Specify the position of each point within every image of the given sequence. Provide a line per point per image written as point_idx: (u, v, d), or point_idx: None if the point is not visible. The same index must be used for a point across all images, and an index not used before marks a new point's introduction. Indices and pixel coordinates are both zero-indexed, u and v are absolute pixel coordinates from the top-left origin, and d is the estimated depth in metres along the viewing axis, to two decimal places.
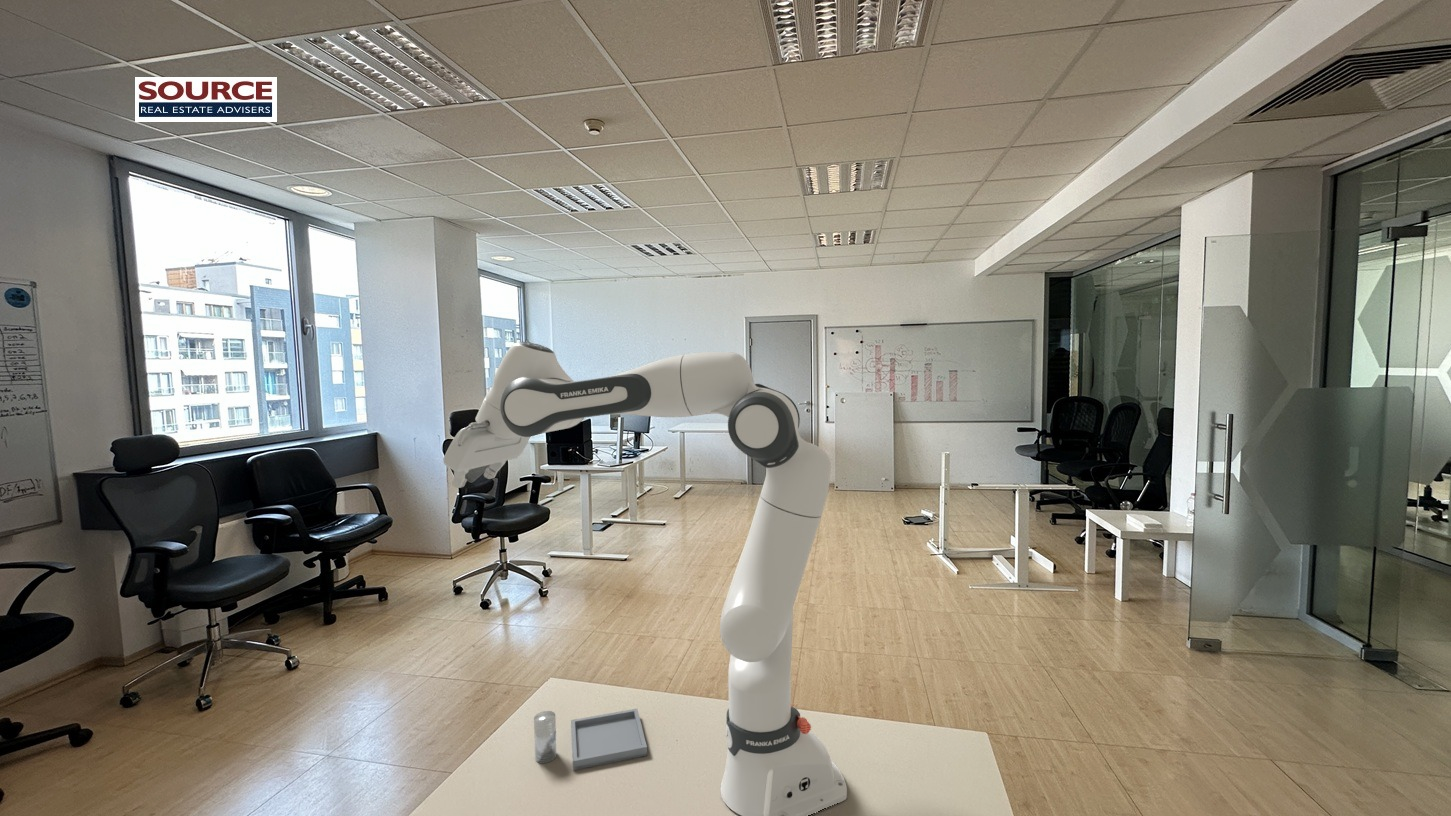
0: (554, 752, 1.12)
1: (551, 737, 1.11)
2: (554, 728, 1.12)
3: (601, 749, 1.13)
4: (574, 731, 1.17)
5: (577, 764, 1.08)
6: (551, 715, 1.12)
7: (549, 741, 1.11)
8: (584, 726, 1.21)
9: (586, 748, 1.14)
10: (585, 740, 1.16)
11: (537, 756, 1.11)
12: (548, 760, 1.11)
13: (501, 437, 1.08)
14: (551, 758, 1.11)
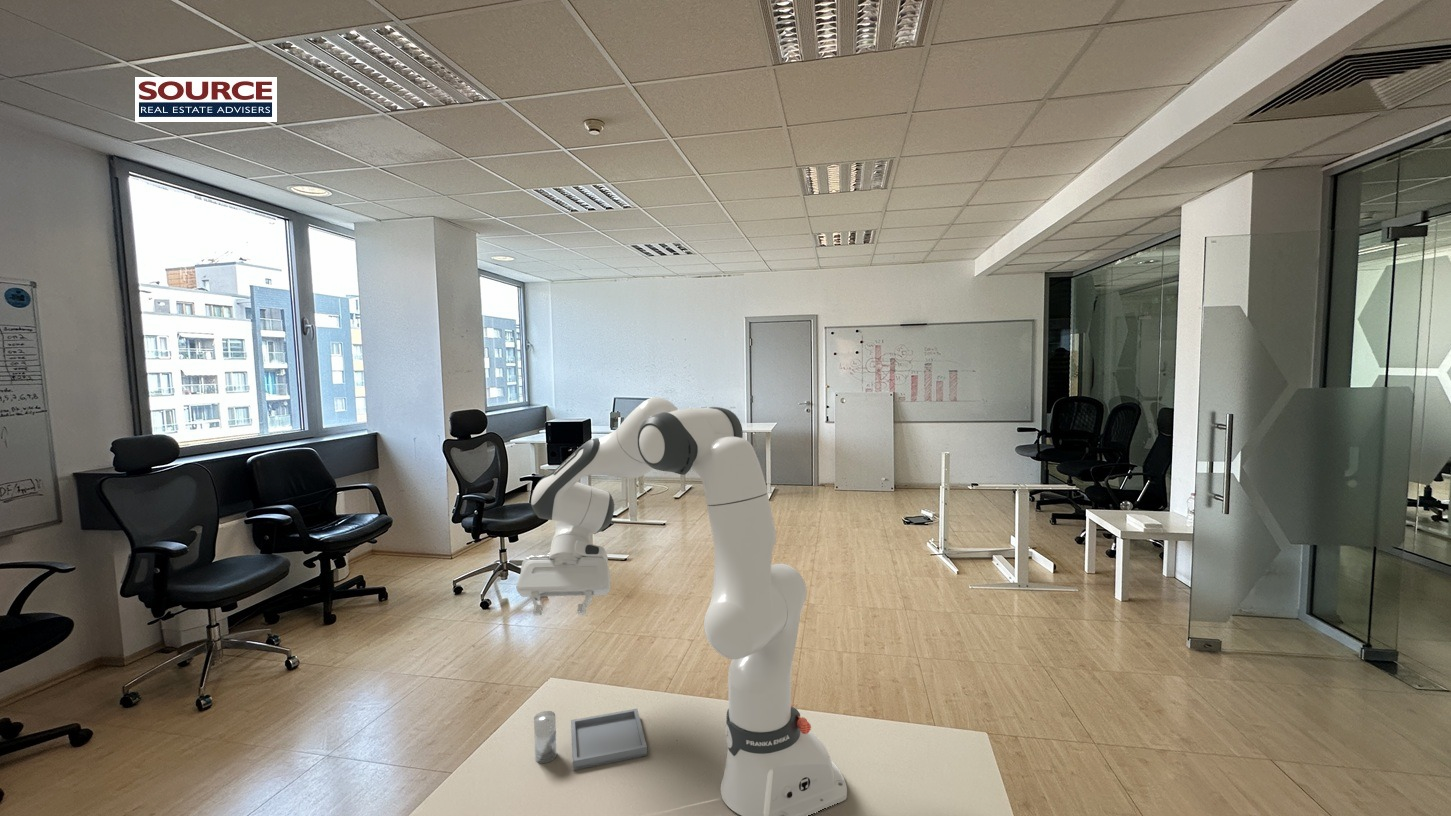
0: (554, 752, 1.12)
1: (551, 737, 1.11)
2: (554, 728, 1.12)
3: (601, 749, 1.13)
4: (574, 731, 1.17)
5: (577, 764, 1.08)
6: (551, 715, 1.12)
7: (549, 741, 1.11)
8: (584, 726, 1.21)
9: (586, 748, 1.14)
10: (585, 740, 1.16)
11: (537, 756, 1.11)
12: (548, 760, 1.11)
13: (556, 559, 1.29)
14: (551, 758, 1.11)
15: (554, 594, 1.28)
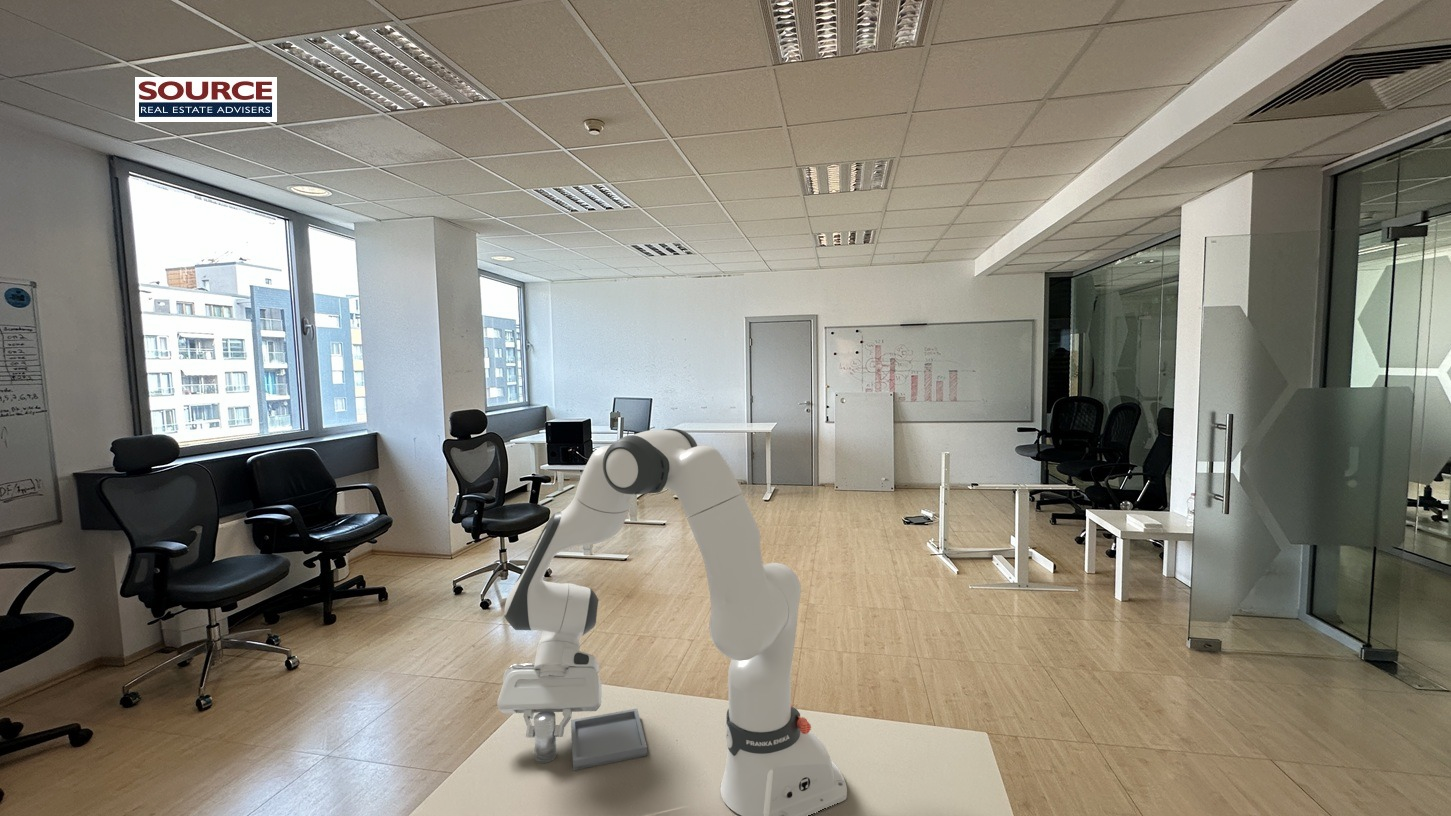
0: (554, 752, 1.12)
1: (551, 737, 1.11)
2: (554, 728, 1.12)
3: (601, 749, 1.13)
4: (574, 731, 1.17)
5: (577, 764, 1.08)
6: (551, 715, 1.12)
7: (549, 741, 1.11)
8: (584, 726, 1.21)
9: (586, 748, 1.14)
10: (585, 740, 1.16)
11: (537, 756, 1.11)
12: (548, 760, 1.11)
13: (542, 670, 1.17)
14: (551, 758, 1.11)
15: (539, 710, 1.16)
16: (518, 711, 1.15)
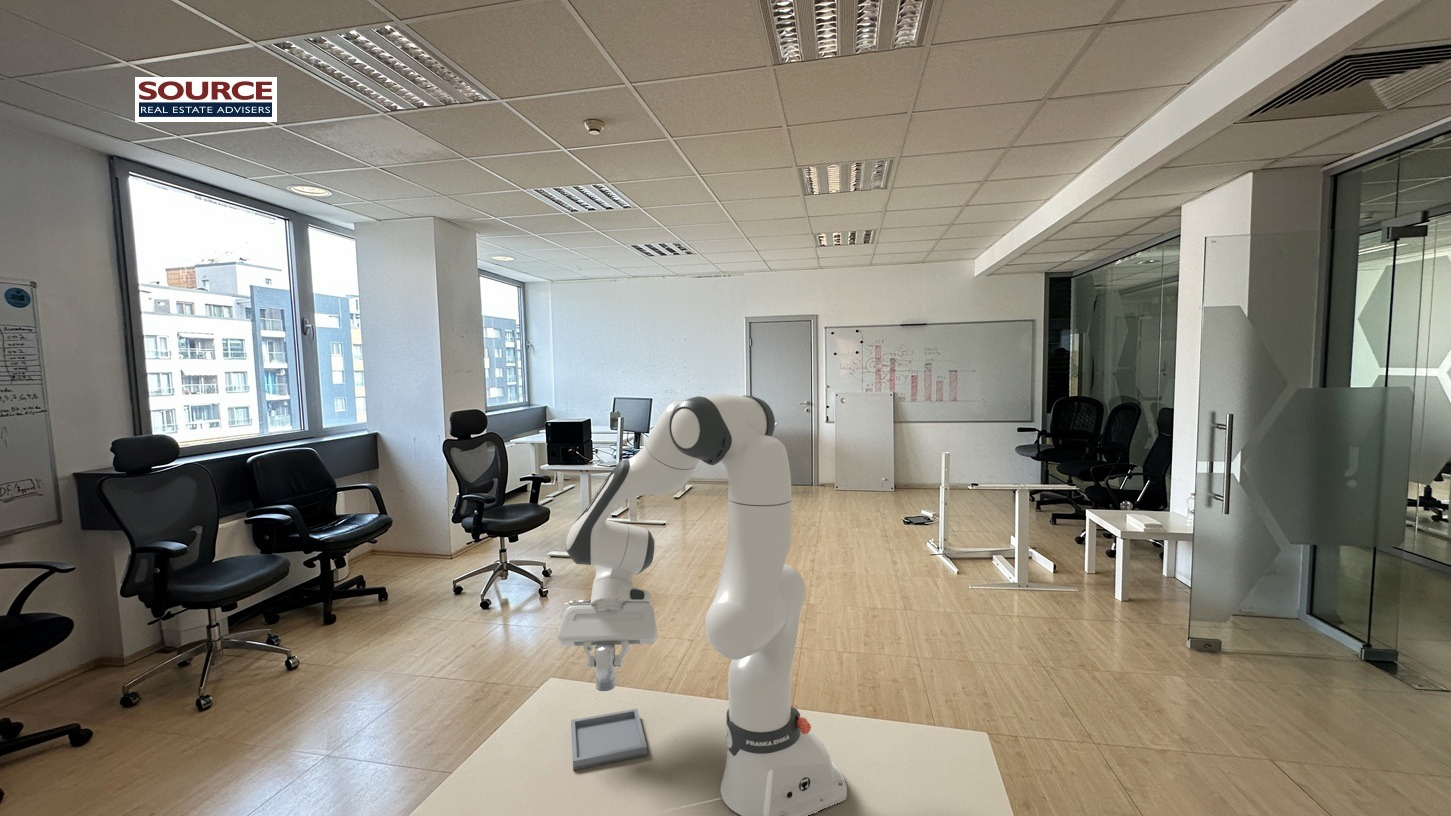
0: (614, 681, 1.15)
1: (612, 667, 1.15)
2: (614, 658, 1.15)
3: (601, 749, 1.13)
4: (574, 731, 1.17)
5: (577, 764, 1.08)
6: (610, 645, 1.16)
7: (610, 669, 1.14)
8: (584, 726, 1.21)
9: (586, 748, 1.14)
10: (585, 740, 1.16)
11: (598, 684, 1.14)
12: (609, 688, 1.14)
13: (599, 605, 1.21)
14: (612, 686, 1.15)
15: (598, 643, 1.19)
16: (577, 644, 1.19)
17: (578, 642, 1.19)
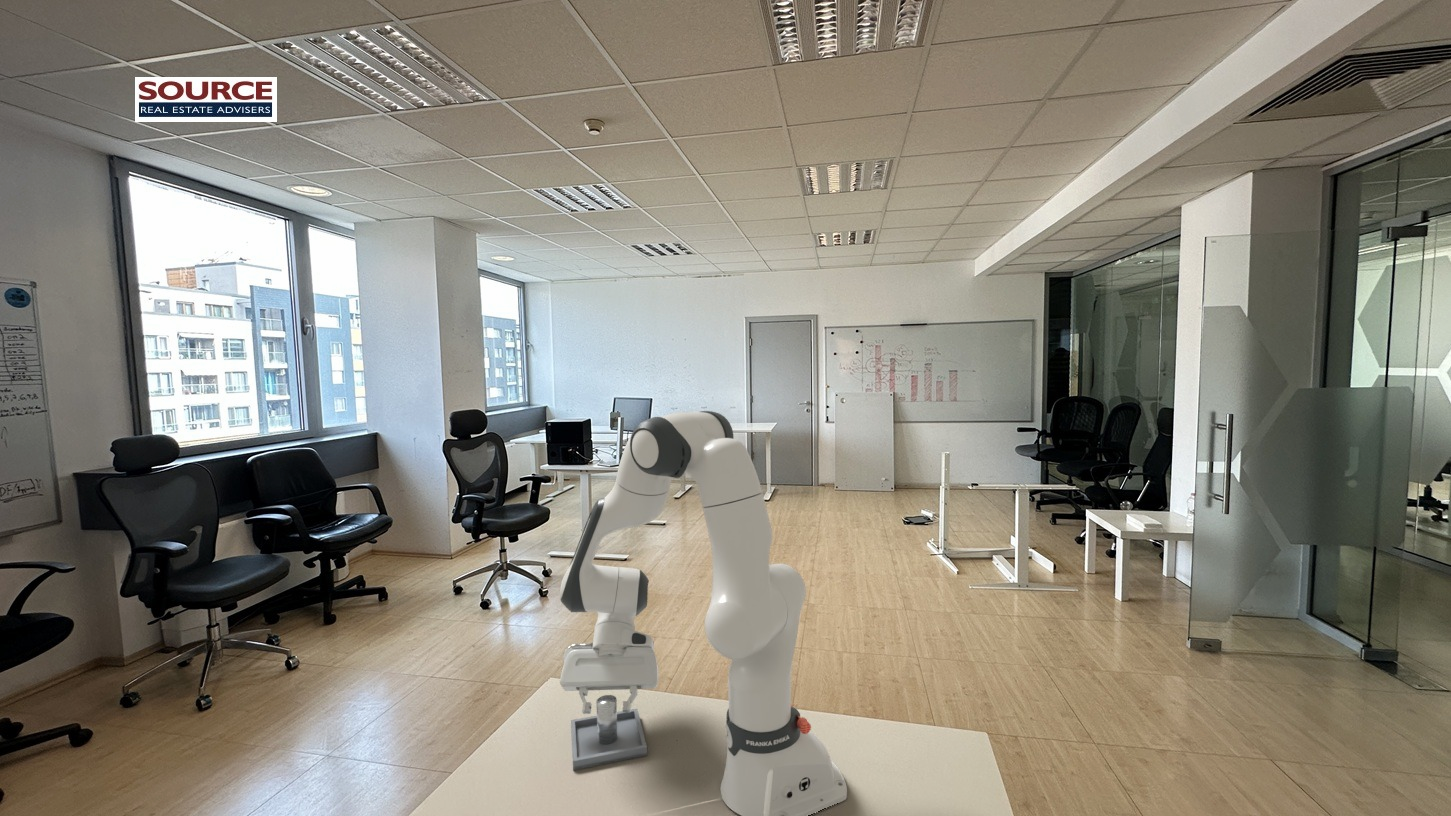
0: (616, 734, 1.16)
1: (614, 720, 1.15)
2: (616, 711, 1.16)
3: (601, 749, 1.13)
4: (574, 731, 1.17)
5: (577, 764, 1.08)
6: (612, 698, 1.17)
7: (611, 723, 1.15)
8: (584, 726, 1.21)
9: (586, 748, 1.14)
10: (585, 740, 1.16)
11: (600, 738, 1.15)
12: (611, 742, 1.15)
13: (601, 650, 1.21)
14: (613, 740, 1.15)
15: (599, 688, 1.20)
16: (579, 689, 1.20)
17: (580, 687, 1.20)
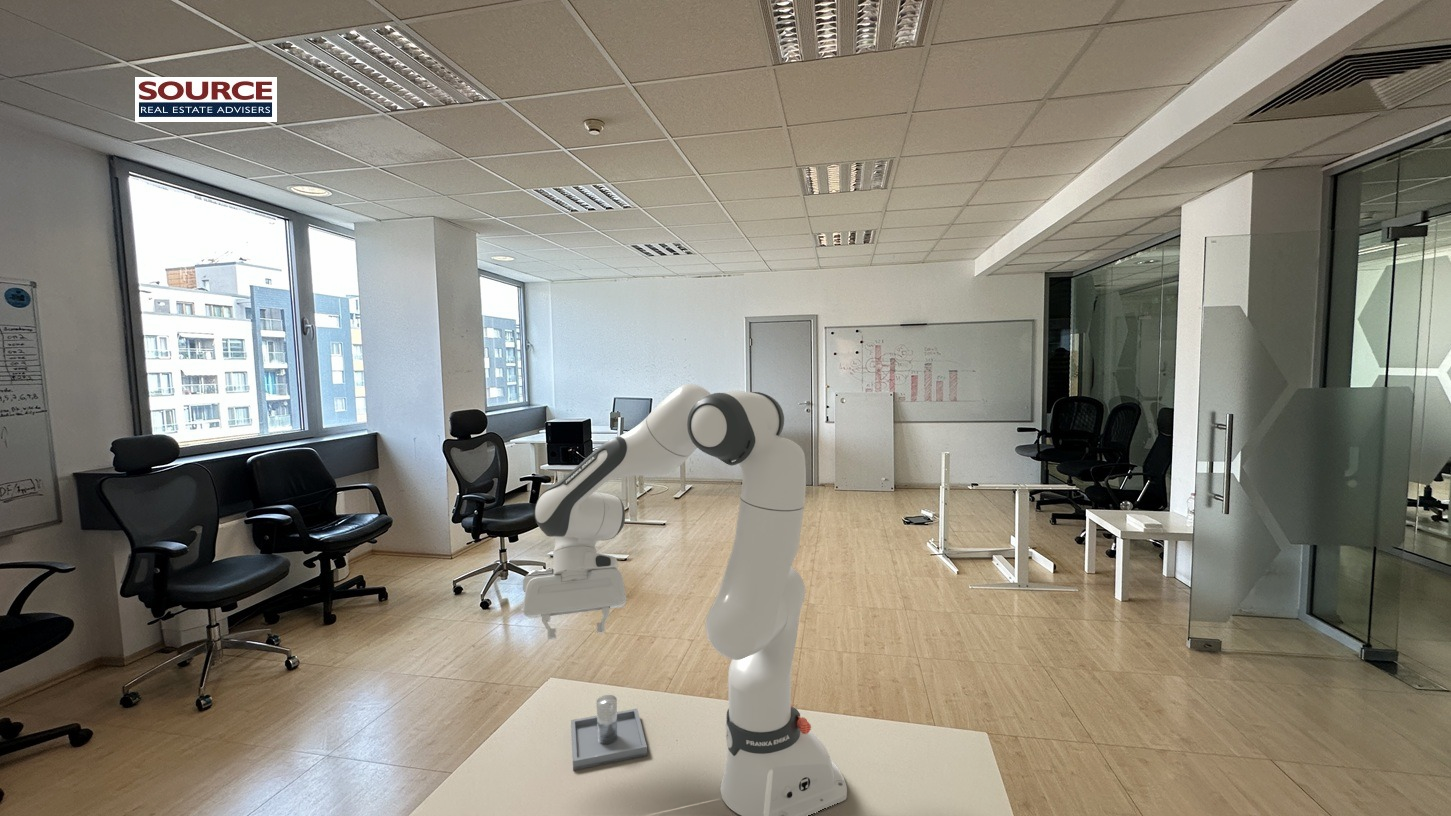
0: (616, 734, 1.16)
1: (614, 720, 1.15)
2: (616, 711, 1.16)
3: (601, 749, 1.13)
4: (574, 731, 1.17)
5: (577, 764, 1.08)
6: (612, 698, 1.17)
7: (611, 723, 1.15)
8: (584, 726, 1.21)
9: (586, 748, 1.14)
10: (585, 740, 1.16)
11: (600, 738, 1.15)
12: (611, 742, 1.15)
13: (564, 575, 1.17)
14: (613, 740, 1.15)
15: (566, 612, 1.17)
16: None
17: None
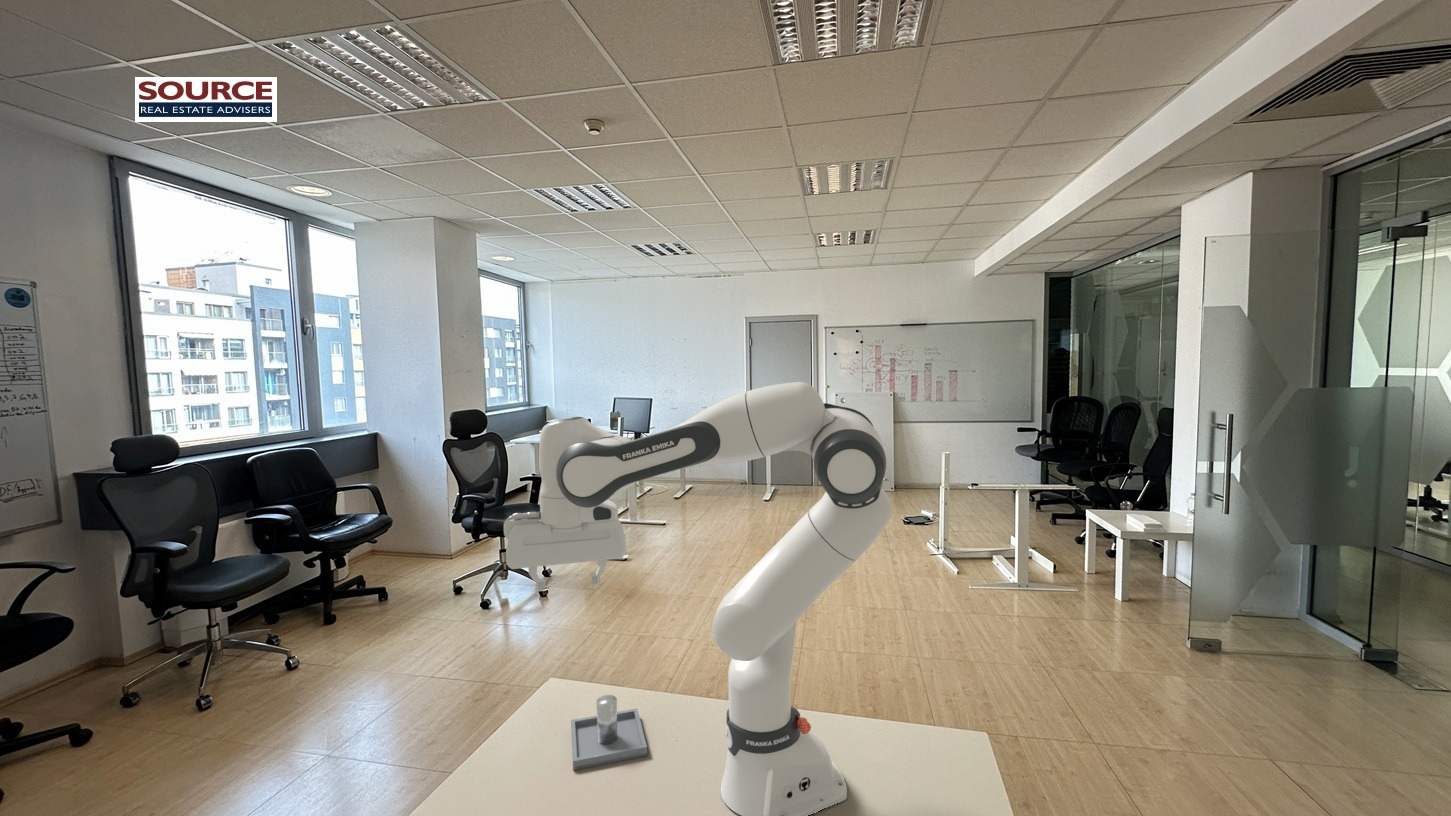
0: (616, 734, 1.16)
1: (614, 720, 1.15)
2: (616, 711, 1.16)
3: (601, 749, 1.13)
4: (574, 731, 1.17)
5: (577, 764, 1.08)
6: (612, 698, 1.17)
7: (611, 723, 1.15)
8: (584, 726, 1.21)
9: (586, 748, 1.14)
10: (585, 740, 1.16)
11: (600, 738, 1.15)
12: (611, 742, 1.15)
13: (555, 527, 0.98)
14: (613, 740, 1.15)
15: None
16: None
17: None
